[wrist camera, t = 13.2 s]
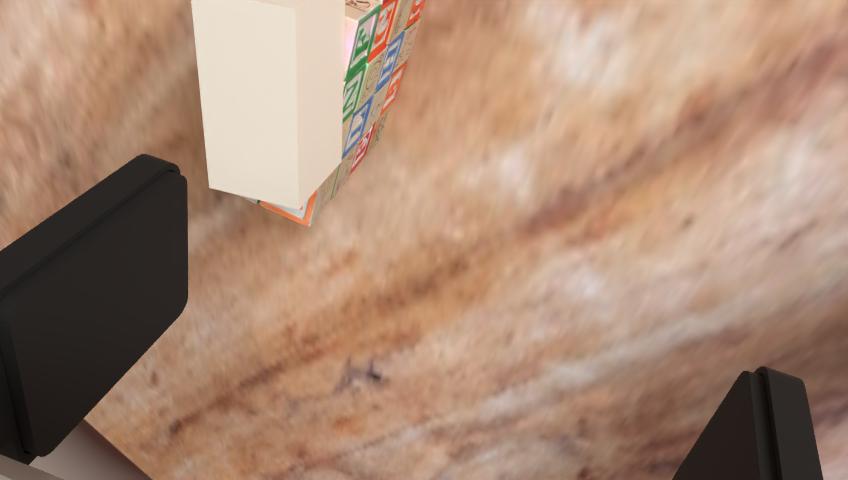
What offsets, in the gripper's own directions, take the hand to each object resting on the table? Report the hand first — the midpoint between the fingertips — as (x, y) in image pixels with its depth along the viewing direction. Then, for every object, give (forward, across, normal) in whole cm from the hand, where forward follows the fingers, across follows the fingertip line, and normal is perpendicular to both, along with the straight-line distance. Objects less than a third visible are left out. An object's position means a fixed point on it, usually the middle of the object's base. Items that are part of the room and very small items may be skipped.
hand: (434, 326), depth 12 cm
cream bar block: (+21, +12, +7) cm, 25 cm away
